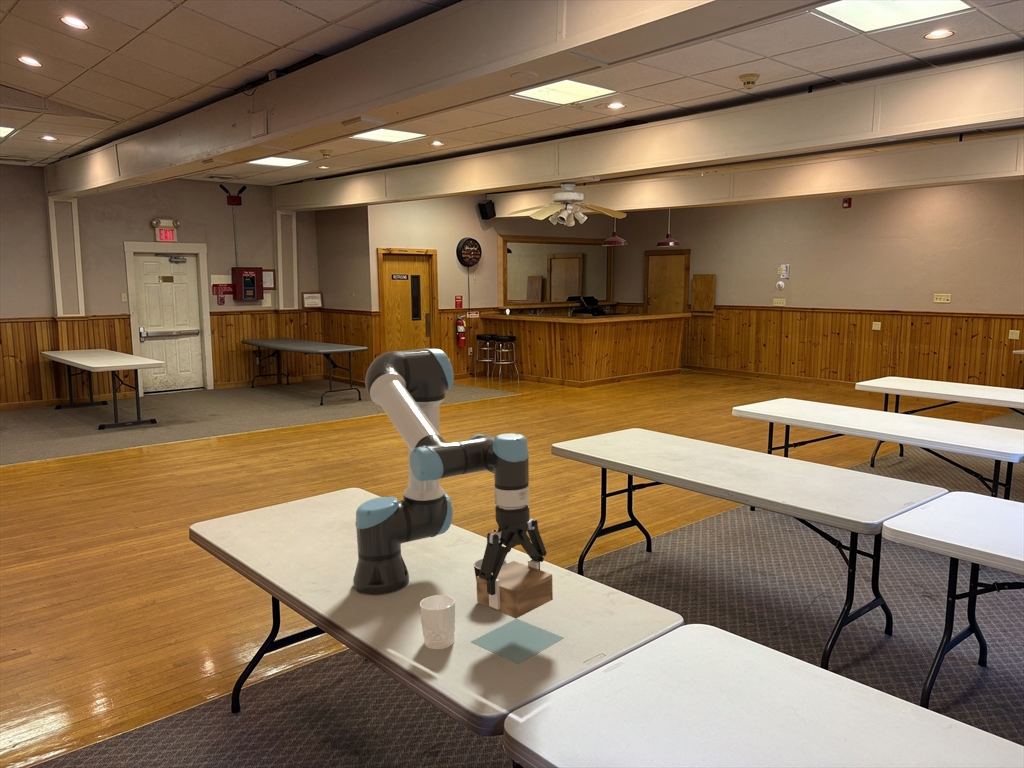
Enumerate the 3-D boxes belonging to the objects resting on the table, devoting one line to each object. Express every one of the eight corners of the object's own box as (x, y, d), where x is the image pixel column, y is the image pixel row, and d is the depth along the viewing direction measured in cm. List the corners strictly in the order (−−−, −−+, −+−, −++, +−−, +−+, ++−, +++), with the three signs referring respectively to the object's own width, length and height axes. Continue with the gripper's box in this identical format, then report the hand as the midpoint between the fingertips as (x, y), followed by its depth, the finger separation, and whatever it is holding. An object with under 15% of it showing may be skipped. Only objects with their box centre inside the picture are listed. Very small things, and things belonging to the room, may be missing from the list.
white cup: (429, 656, 154) (427, 612, 153) (417, 641, 161) (414, 599, 160) (462, 647, 157) (460, 604, 156) (449, 633, 164) (446, 592, 163)
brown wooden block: (477, 602, 158) (476, 576, 157) (514, 585, 166) (513, 560, 165) (515, 618, 149) (515, 591, 149) (552, 599, 158) (552, 574, 157)
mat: (470, 644, 158) (470, 641, 158) (516, 620, 169) (516, 618, 169) (518, 666, 148) (518, 663, 148) (564, 640, 159) (564, 637, 159)
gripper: (484, 522, 144) (487, 621, 146) (560, 495, 161) (562, 584, 164) (459, 514, 149) (463, 611, 152) (536, 489, 166) (538, 576, 169)
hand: (514, 597), depth 158 cm, fingers closed on brown wooden block, 12 cm apart
